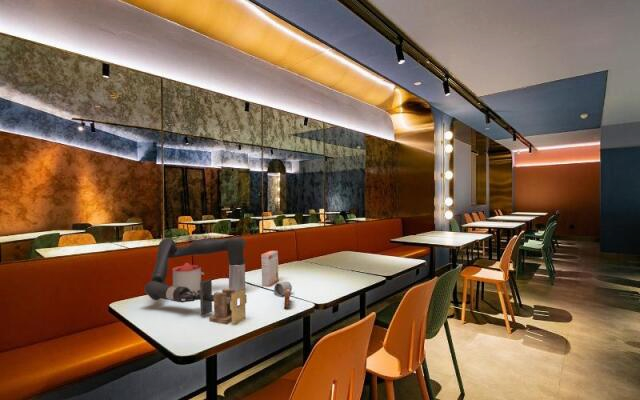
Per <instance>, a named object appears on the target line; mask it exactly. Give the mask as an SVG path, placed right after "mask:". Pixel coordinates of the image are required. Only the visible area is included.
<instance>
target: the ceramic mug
mask: <svg viewBox="0 0 640 400" xmlns="http://www.w3.org/2000/svg"><path fill="white" fill-rule="evenodd" d="M273 288H274V289H273V293H274V294H275V295H276V296H277V297H283V296H285V288H290V293H291V292H292V291H293V290H292V289H293V286H292V283H291V282H289V281H282V282H276V283H275V284H274V287H273Z"/></svg>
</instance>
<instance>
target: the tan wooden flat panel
mask: <svg viewBox="0 0 640 400" xmlns="http://www.w3.org/2000/svg"><path fill="white" fill-rule="evenodd" d="M231 298H232V300H231V301H230V310H232V322H231V325H234V326H235V325H237V324H239V323H240V322H242V321H243V320H246V304H248V303H247V301H248V300H247V299H248V298H247V294H246V288H245V289H240V290H238V291H236V292H234V293H231ZM238 300H239V305H238Z"/></svg>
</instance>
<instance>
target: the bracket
mask: <svg viewBox="0 0 640 400" xmlns="http://www.w3.org/2000/svg"><path fill="white" fill-rule="evenodd" d="M221 291H222V292H219V291H216V292H214V293H213V295H214V302H213V314H212V315H210V316H209V317H208V320H209V322H211V323H216V324H222V325H228V324H230V323H232V310H230V304H227V297H231V293H234V292H235V290H232V289H229V288H224V289H222V290H221Z"/></svg>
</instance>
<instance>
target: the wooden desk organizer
mask: <svg viewBox="0 0 640 400" xmlns="http://www.w3.org/2000/svg"><path fill="white" fill-rule="evenodd" d="M212 284H213V282H212V279H205V280H203V281H202V280H201V282H200V300H199V301H200V307H199V308H200V316H201V317H204V316H206V315H208V314H210V313H212V312H213V303H214V294H213V291H212V290H213V288H212V287H213V285H212ZM231 300H232V298H231V297H227V304H230V301H231Z"/></svg>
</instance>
